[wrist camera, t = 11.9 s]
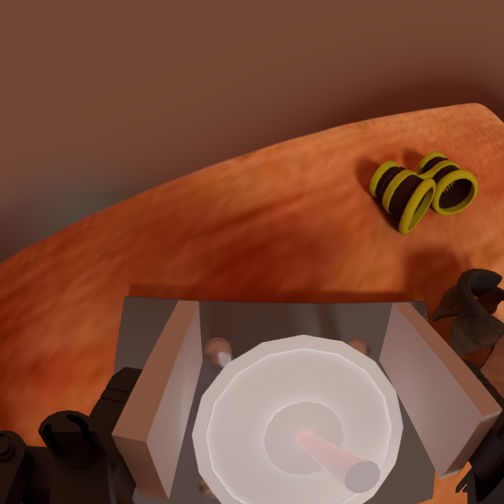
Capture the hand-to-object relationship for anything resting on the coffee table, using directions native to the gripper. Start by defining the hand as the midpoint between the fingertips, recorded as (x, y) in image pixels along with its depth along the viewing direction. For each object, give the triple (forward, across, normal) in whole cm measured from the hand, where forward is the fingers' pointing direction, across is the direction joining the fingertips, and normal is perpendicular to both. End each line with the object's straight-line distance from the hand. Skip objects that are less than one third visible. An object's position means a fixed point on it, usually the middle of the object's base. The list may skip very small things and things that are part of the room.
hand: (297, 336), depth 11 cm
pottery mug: (+5, +15, -6) cm, 17 cm away
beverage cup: (+2, 0, -7) cm, 7 cm away
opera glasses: (+15, +12, +4) cm, 20 cm away
